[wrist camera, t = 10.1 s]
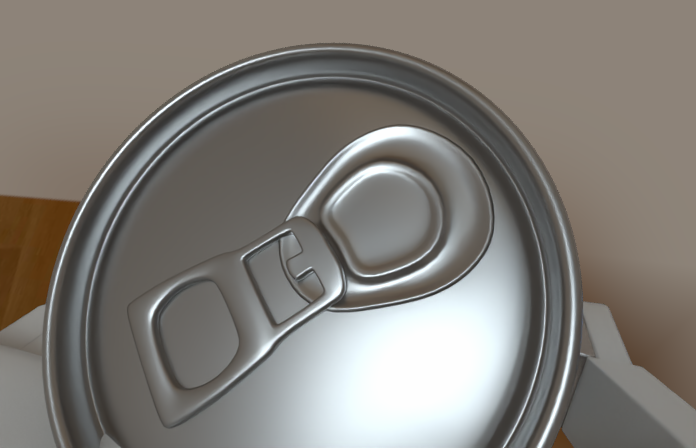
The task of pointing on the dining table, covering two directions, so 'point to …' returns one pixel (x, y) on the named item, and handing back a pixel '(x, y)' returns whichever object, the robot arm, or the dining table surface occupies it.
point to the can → (317, 268)
